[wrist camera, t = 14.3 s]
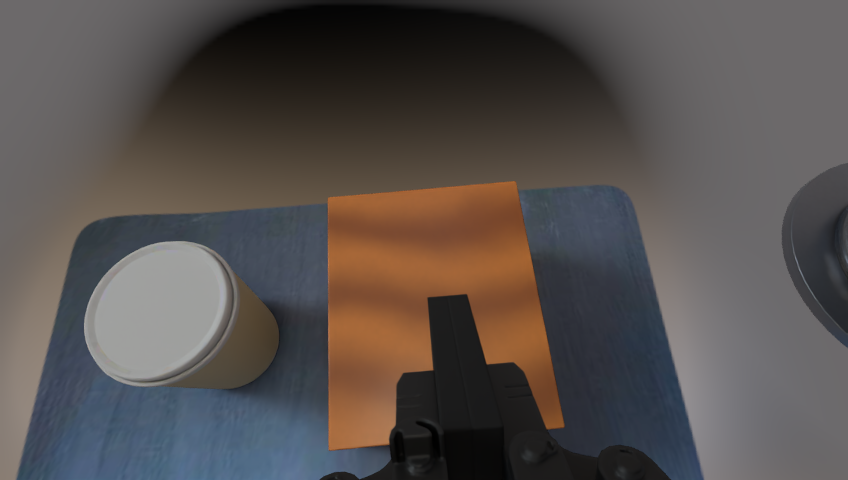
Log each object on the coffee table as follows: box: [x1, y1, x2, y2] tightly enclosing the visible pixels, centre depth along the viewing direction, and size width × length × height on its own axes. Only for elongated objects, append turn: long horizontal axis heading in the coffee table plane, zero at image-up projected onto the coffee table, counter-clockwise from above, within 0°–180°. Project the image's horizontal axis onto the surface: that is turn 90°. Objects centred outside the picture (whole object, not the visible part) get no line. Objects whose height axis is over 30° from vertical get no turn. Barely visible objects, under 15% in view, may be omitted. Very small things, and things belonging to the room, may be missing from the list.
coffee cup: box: [84, 241, 279, 389], centre depth 33 cm, size 9×9×12 cm
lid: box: [328, 181, 565, 451], centre depth 29 cm, size 16×14×1 cm
